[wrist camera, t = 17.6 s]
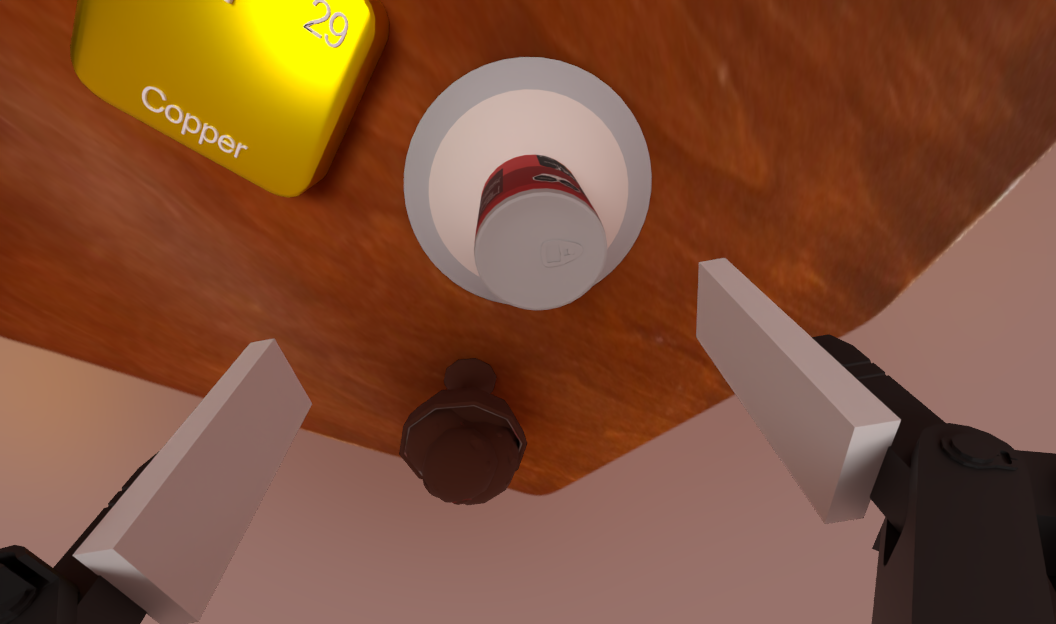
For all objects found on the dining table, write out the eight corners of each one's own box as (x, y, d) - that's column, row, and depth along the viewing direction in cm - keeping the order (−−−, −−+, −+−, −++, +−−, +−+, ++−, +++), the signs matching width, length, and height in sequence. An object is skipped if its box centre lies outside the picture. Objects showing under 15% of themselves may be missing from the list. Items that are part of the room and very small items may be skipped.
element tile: (113, 76, 31) (54, 80, 27) (163, -167, 25) (97, -210, 21) (319, 193, 36) (295, 211, 32) (401, 13, 30) (385, 6, 26)
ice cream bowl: (395, 377, 46) (353, 505, 33) (474, 317, 42) (461, 433, 29) (467, 431, 50) (454, 563, 37) (542, 380, 47) (558, 505, 34)
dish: (444, 316, 42) (442, 325, 41) (369, 87, 32) (363, 88, 31) (651, 279, 41) (656, 286, 40) (642, 30, 31) (648, 29, 30)
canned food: (592, 224, 36) (624, 284, 27) (504, 260, 38) (506, 329, 28) (560, 133, 33) (584, 167, 23) (464, 176, 34) (450, 225, 25)
